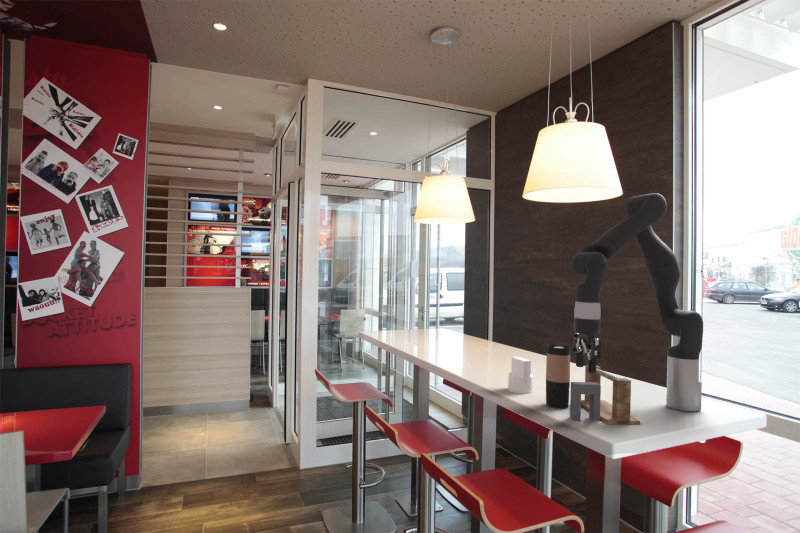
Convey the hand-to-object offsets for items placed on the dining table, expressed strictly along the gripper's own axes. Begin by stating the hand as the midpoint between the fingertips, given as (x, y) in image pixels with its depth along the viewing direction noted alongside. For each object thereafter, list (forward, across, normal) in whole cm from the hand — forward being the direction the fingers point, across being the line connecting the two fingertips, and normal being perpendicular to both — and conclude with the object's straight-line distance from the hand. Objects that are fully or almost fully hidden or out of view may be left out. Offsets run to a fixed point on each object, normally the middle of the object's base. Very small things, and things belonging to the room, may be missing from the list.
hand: (585, 369), depth 140 cm
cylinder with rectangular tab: (+15, +33, +10) cm, 38 cm away
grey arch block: (+15, 0, 0) cm, 15 cm away
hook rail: (+15, +7, -10) cm, 20 cm away
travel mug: (+15, +14, +3) cm, 21 cm away
